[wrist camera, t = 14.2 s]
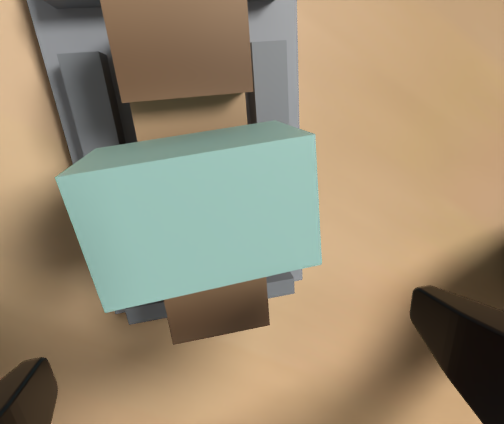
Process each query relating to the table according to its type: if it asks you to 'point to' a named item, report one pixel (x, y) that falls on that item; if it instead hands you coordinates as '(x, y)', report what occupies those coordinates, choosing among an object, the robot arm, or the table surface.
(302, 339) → the table surface
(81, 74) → the jig
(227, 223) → the pale teal rectangular block
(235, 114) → the tan flanged beam
